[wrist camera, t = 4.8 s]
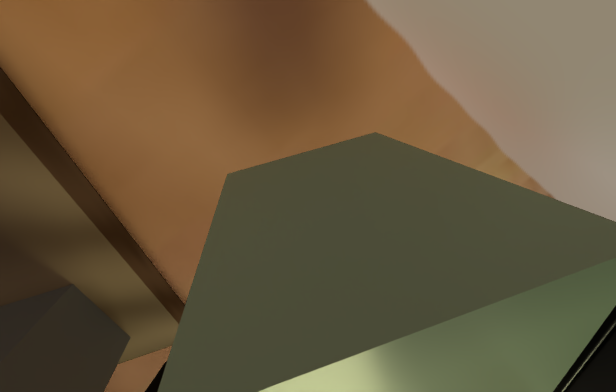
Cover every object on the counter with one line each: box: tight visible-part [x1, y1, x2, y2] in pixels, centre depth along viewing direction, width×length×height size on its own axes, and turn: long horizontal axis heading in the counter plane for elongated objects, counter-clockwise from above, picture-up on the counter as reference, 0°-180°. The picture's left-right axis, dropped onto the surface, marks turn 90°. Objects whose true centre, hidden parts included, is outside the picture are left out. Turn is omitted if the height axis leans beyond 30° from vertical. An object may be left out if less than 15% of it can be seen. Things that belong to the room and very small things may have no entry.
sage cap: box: [158, 132, 616, 392], centre depth 6 cm, size 6×6×7 cm
